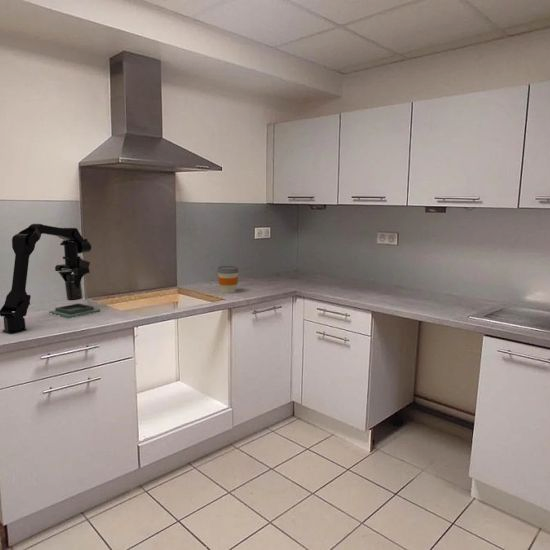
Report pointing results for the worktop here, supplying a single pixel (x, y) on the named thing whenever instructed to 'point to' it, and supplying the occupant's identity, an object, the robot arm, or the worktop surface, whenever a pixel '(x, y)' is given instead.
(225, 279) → the reusable coffee cup
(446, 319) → the worktop surface
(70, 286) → the supplement bottle
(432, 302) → the worktop surface
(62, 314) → the dock board
